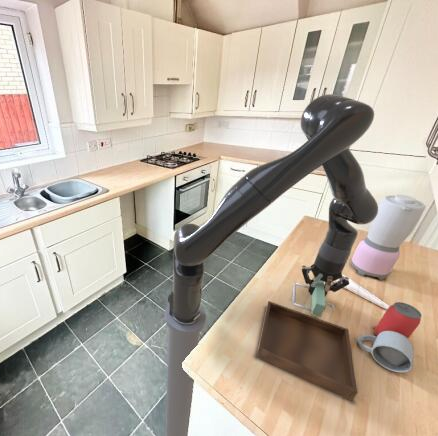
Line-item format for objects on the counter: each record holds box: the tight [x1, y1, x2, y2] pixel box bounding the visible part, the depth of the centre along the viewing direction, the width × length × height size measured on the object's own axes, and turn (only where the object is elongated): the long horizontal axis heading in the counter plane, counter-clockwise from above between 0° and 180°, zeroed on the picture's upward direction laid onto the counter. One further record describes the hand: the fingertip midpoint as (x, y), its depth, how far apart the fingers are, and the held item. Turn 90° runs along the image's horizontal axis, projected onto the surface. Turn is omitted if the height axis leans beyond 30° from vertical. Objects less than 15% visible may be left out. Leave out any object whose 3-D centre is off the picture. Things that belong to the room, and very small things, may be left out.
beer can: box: [374, 301, 423, 339], centre depth 69 cm, size 7×7×12 cm
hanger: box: [291, 281, 335, 318], centre depth 81 cm, size 12×14×5 cm
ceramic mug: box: [356, 331, 415, 373], centre depth 66 cm, size 11×8×8 cm
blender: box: [349, 194, 427, 281], centre depth 92 cm, size 16×12×32 cm
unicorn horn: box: [333, 273, 391, 310], centre depth 86 cm, size 5×24×5 cm, turn 27°
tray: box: [256, 300, 358, 402], centre depth 70 cm, size 22×20×4 cm
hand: (315, 294), depth 84 cm, fingers closed on hanger, 2 cm apart
